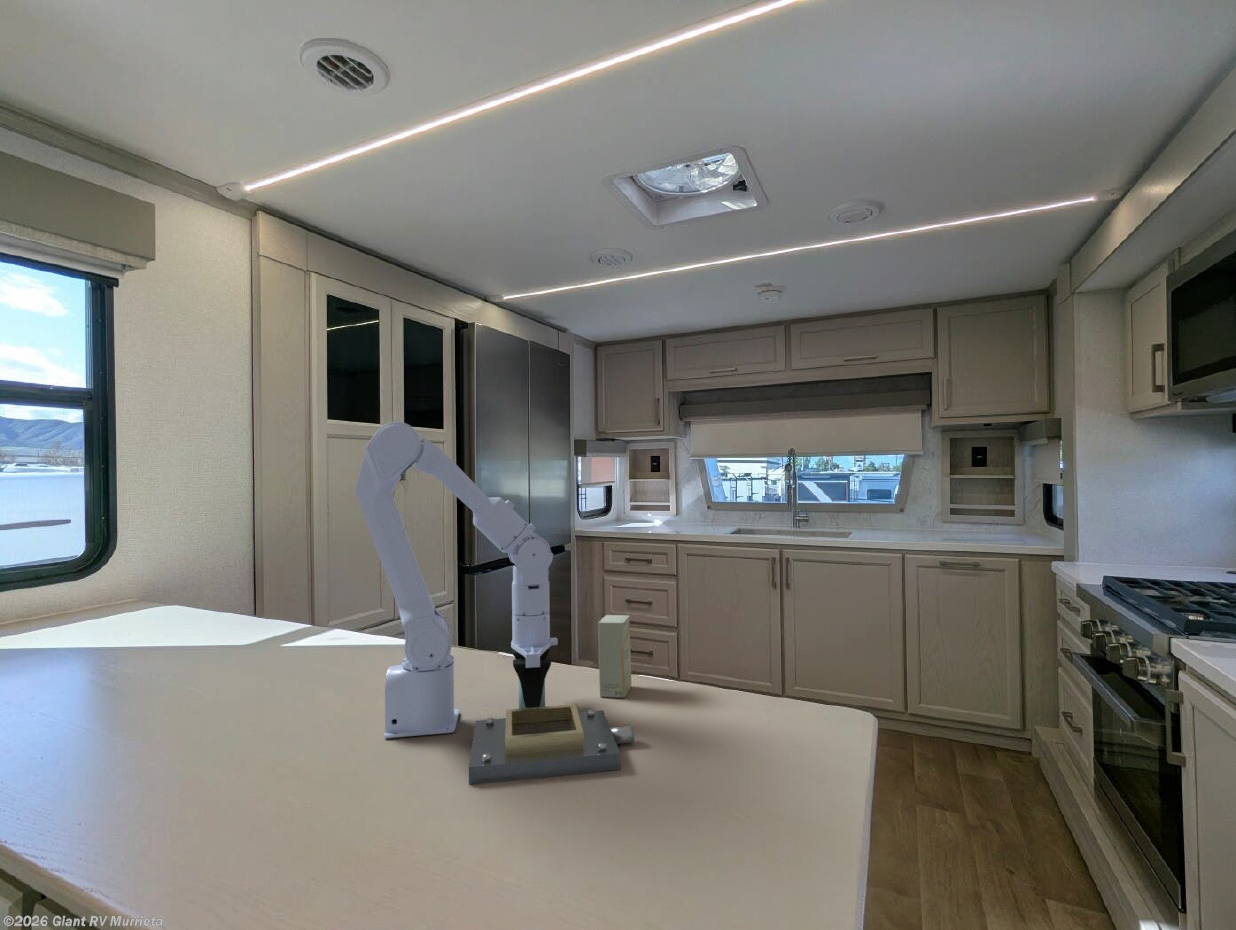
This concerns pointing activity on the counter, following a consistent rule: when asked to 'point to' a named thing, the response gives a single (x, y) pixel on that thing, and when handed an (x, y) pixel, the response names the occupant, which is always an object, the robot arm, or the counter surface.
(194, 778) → the counter surface
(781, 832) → the counter surface
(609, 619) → the skincare box
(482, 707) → the counter surface
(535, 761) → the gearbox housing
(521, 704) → the spout can
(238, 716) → the counter surface
